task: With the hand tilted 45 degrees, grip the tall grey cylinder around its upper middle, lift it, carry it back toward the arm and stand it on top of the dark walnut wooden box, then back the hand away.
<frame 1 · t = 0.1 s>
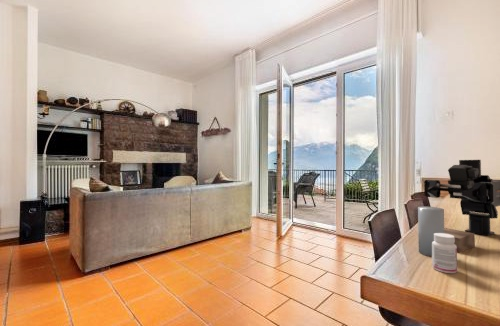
hand: (444, 192, 77), 17 cm above the table, tool horizontal, fingers open, 9 cm apart
grey cylinder: (431, 253, 69), on the table
walnut box: (447, 244, 77), on the table
pill bottle: (444, 270, 59), on the table
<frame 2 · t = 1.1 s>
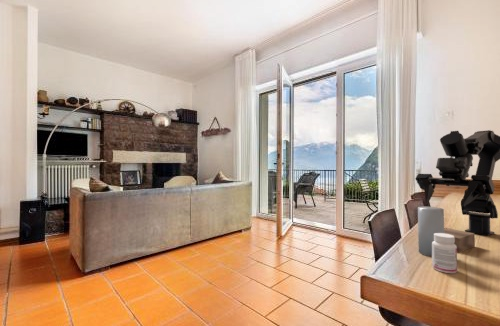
hand: (443, 203, 74), 14 cm above the table, tool tilted 45°, fingers open, 9 cm apart
nothing on the table moved.
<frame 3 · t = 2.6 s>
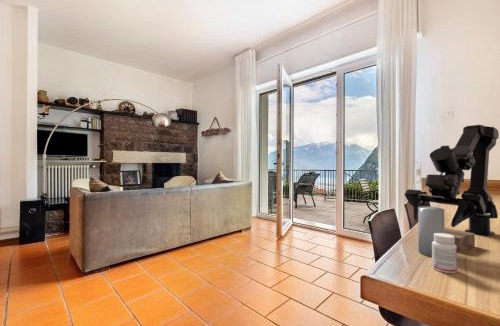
hand: (432, 222, 70), 9 cm above the table, tool tilted 45°, fingers open, 9 cm apart
nothing on the table moved.
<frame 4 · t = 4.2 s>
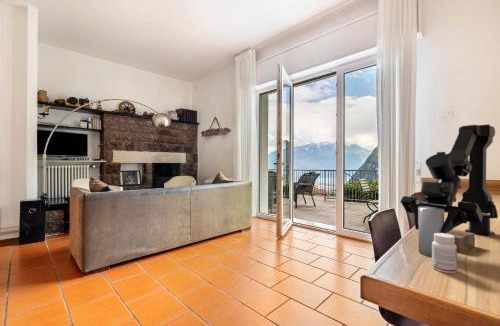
hand: (428, 231, 69), 7 cm above the table, tool tilted 45°, fingers closed on grey cylinder, 6 cm apart
grey cylinder: (431, 253, 69), on the table, touching gripper
everything else where it was.
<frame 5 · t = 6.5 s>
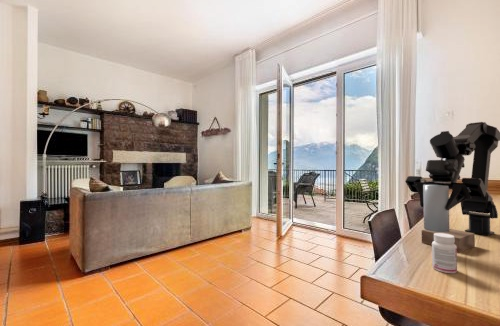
hand: (433, 207, 71), 13 cm above the table, tool tilted 45°, fingers closed on grey cylinder, 6 cm apart
grey cylinder: (436, 229, 71), point 6 cm above the table, touching gripper
everything else where it was.
when the fingers open (11 cm above the table, at t = 9.0 s): grey cylinder stays where it is, resting on walnut box.
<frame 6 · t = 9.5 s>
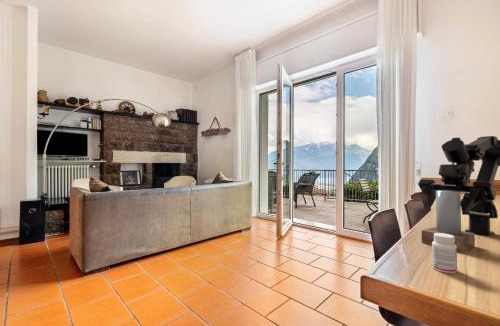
hand: (446, 208, 76), 12 cm above the table, tool tilted 45°, fingers open, 9 cm apart
grey cylinder: (448, 232, 76), point 4 cm above the table, touching walnut box
everything else where it was.
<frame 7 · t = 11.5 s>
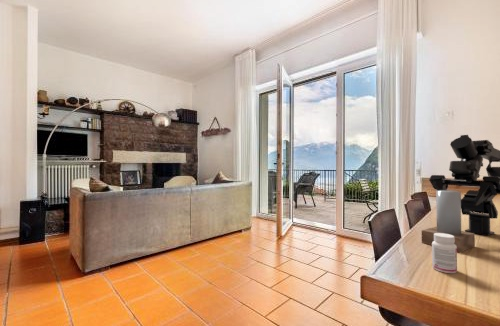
hand: (457, 203, 80), 13 cm above the table, tool tilted 45°, fingers open, 9 cm apart
nothing on the table moved.
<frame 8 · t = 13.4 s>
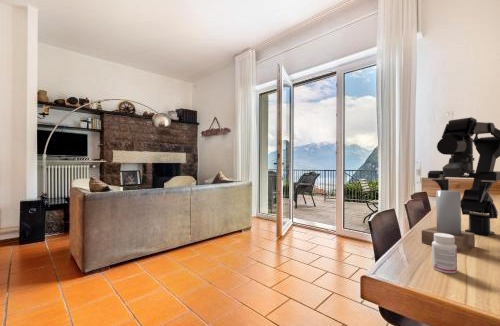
hand: (462, 200, 83), 13 cm above the table, tool pointing down, fingers open, 9 cm apart
nothing on the table moved.
at the end: grey cylinder inside the target area on the walnut box (0.6 cm from its centre), point 4.1 cm above the walnut box's base; grey cylinder tilted 1°; the gripper is holding nothing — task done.
